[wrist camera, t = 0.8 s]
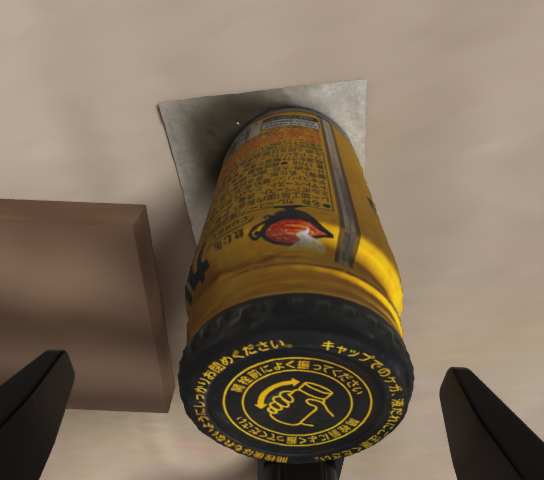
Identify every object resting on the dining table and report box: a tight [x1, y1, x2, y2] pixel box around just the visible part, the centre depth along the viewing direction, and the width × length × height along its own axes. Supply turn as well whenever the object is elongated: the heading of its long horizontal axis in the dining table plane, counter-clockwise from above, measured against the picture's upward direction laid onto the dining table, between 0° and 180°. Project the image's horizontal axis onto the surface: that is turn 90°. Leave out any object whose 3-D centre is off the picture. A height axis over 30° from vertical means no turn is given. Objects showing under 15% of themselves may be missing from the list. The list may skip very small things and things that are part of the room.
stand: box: [0, 199, 175, 413], centre depth 23 cm, size 14×12×2 cm
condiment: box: [158, 79, 414, 464], centre depth 14 cm, size 7×8×12 cm
